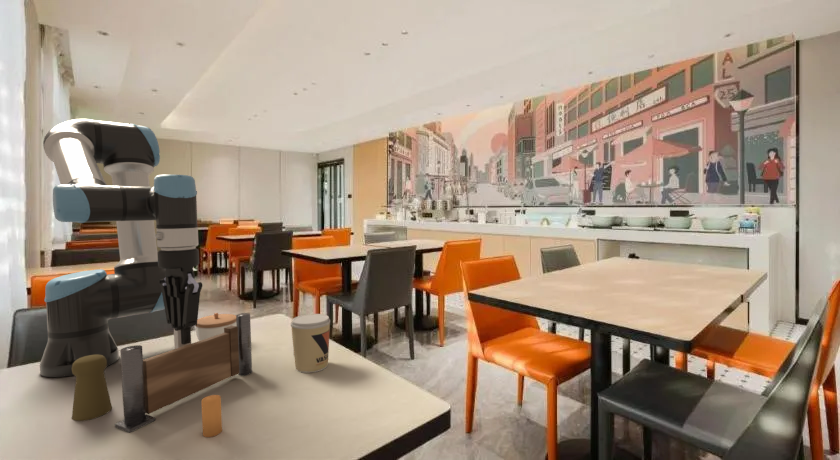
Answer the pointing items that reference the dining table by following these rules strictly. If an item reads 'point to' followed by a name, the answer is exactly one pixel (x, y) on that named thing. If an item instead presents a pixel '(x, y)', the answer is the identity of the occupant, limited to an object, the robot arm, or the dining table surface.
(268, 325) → the dining table surface
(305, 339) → the coffee cup
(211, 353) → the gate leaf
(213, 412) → the post
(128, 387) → the gate frame
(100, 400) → the cork
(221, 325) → the lidded jar
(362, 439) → the dining table surface
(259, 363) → the dining table surface
